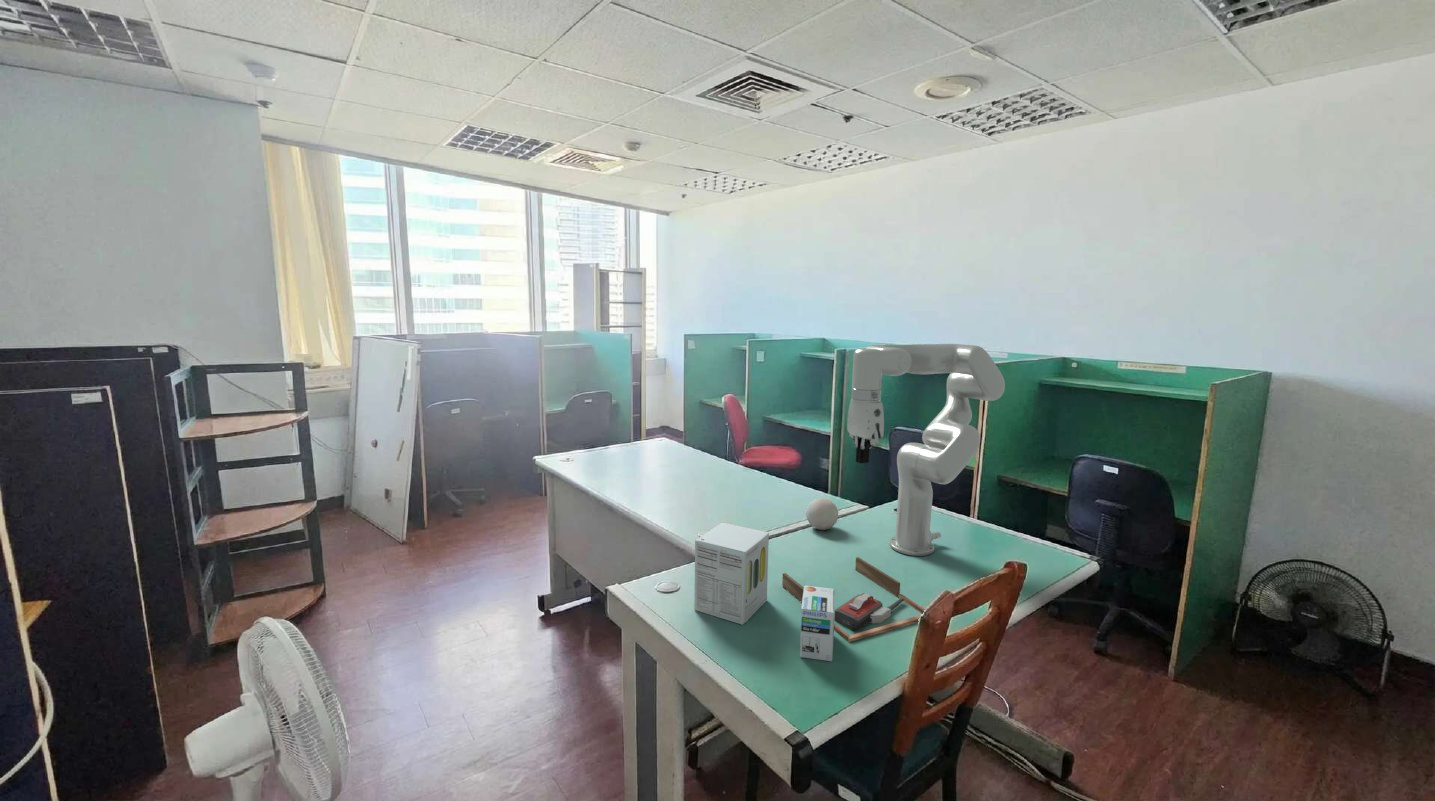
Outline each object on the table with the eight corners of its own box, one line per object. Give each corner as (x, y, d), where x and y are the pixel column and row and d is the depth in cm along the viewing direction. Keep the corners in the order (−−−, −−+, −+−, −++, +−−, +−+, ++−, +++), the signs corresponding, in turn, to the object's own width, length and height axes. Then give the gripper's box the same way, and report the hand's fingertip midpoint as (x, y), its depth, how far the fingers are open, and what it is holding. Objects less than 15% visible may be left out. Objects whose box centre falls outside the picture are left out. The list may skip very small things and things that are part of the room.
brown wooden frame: (857, 569, 158) (858, 557, 157) (933, 617, 134) (934, 603, 133) (782, 586, 148) (782, 573, 147) (849, 642, 124) (850, 627, 123)
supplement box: (743, 626, 129) (745, 552, 126) (693, 610, 136) (693, 539, 133) (768, 600, 141) (770, 531, 138) (720, 587, 147) (721, 521, 144)
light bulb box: (832, 662, 117) (835, 612, 115) (798, 658, 118) (800, 608, 116) (833, 633, 127) (835, 587, 125) (801, 629, 128) (803, 584, 126)
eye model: (834, 536, 180) (836, 505, 178) (802, 531, 183) (803, 501, 182) (839, 525, 189) (841, 496, 187) (809, 521, 193) (810, 492, 191)
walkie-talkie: (863, 639, 126) (906, 606, 140) (864, 620, 125) (907, 588, 139) (828, 623, 132) (874, 593, 146) (829, 605, 131) (875, 576, 145)
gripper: (896, 398, 148) (892, 467, 152) (859, 390, 162) (855, 454, 165) (873, 400, 145) (869, 471, 148) (837, 391, 159) (834, 457, 162)
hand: (862, 462), depth 157 cm, fingers closed
